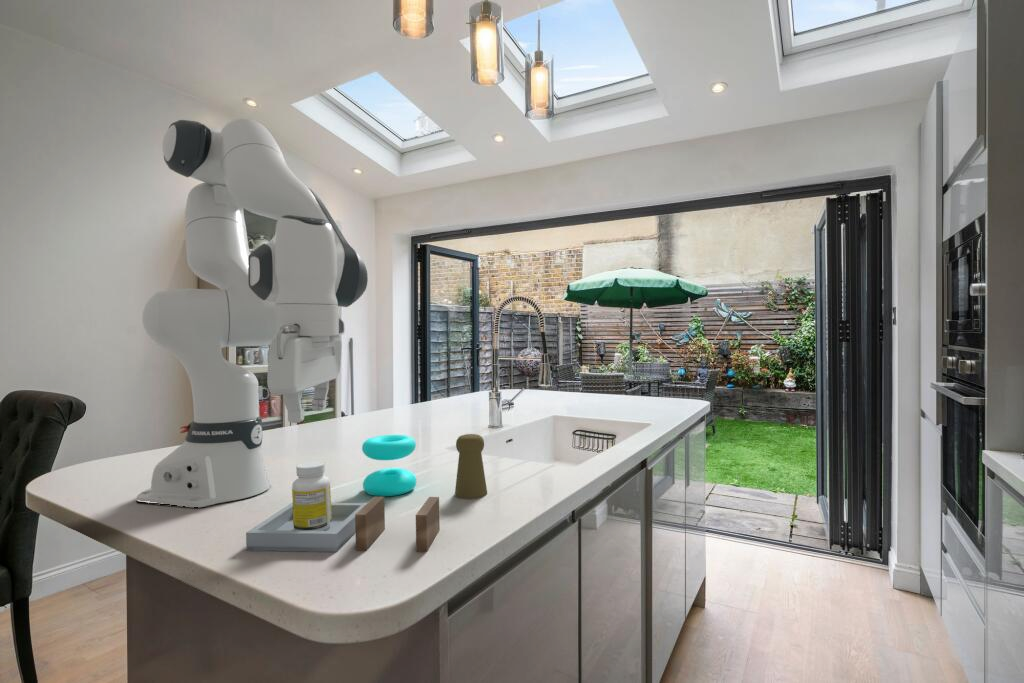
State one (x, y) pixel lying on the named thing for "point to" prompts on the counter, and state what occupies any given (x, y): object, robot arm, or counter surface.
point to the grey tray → (282, 536)
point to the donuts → (392, 478)
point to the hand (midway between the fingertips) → (308, 415)
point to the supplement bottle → (311, 498)
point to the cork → (470, 467)
